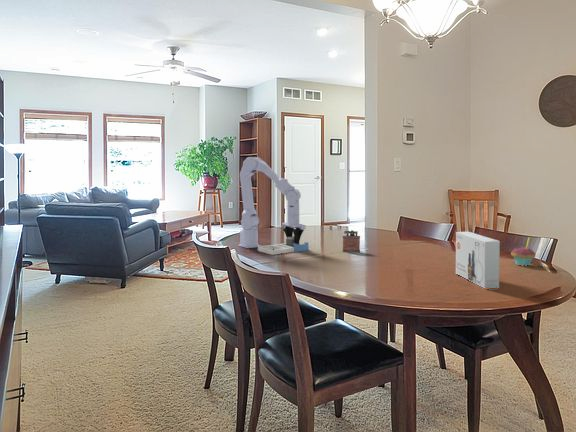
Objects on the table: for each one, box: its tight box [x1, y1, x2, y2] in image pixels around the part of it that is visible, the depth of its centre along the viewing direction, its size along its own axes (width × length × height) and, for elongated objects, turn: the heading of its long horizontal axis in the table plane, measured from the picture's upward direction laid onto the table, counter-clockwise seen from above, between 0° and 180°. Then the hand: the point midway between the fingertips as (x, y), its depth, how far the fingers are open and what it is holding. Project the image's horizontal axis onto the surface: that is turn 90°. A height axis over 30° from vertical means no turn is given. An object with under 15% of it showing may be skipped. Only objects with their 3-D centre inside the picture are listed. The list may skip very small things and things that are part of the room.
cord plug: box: [285, 235, 300, 247], centre depth 216 cm, size 4×5×6 cm
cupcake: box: [510, 235, 536, 266], centre depth 179 cm, size 9×8×12 cm
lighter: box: [341, 229, 361, 254], centre depth 209 cm, size 8×3×10 cm, turn 84°
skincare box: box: [455, 231, 501, 289], centre depth 153 cm, size 21×5×16 cm, turn 5°
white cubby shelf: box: [257, 241, 310, 256], centre depth 213 cm, size 13×21×4 cm, turn 127°
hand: (293, 243), depth 216 cm, fingers open, 4 cm apart
